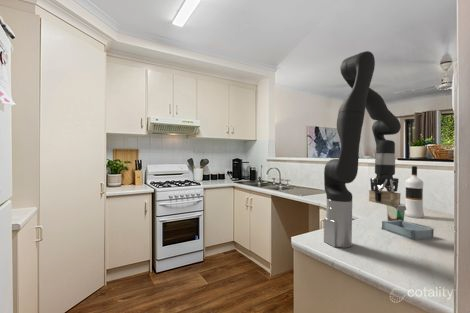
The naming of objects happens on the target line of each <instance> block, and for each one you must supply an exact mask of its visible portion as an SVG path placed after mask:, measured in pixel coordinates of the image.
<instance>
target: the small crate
mask: <svg viewBox="0 0 470 313" xmlns="http://www.w3.org/2000/svg"><path fill="white" fill-rule="evenodd" d="M368 202H372V203H376V204H380V205H384V206H387V205H388V206H395V205H400V204H401V192H389V191H387V190H383V189H382V191H381V202H378V201H376V200H375V192H373V191H371V189H369V190H368Z"/></svg>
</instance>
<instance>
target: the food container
mask: <svg viewBox="0 0 470 313" xmlns="http://www.w3.org/2000/svg"><path fill="white" fill-rule="evenodd" d="M405 210H406V207H405V204H403V203H400V205H395V206H388V205H386V212H387V213H386V215H387V221H398V220H403V221H404V222H405Z"/></svg>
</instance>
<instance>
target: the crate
mask: <svg viewBox="0 0 470 313" xmlns="http://www.w3.org/2000/svg"><path fill="white" fill-rule="evenodd" d="M381 229H382V230H383V231H387V232H390V233H391V234H392V233H393V234H396V235H398V236H401V237H404V238H407V239H411V240H413V241H414V240H415V241H416V240H417V241H418V240H424V239H433V238H434V232H435V230H434V228H432V227H427V226H426V227H425V226H421V225H419V224H415V223H411V222H408V221H405V220H404V221H403V220H398V221H388V220H382V221H381Z"/></svg>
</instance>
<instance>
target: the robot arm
mask: <svg viewBox="0 0 470 313" xmlns="http://www.w3.org/2000/svg"><path fill="white" fill-rule="evenodd" d="M375 66H376V61H375V55H374V54H373V52H371V51H369V50H367V51H363V52H359V53H357V54H354V55H351V56H350V57H349V56H348V57H347V58H345V59H343V60H342V61H341V63H340V68H339V69H340V73H341V76H342V78H343V79H344V81H345V82H346V83H347V85H348V87H350V88H351V90H350V92H349V94H348V95H347V96H346V97H345V99H344V100H343V102H342V103H341V104H340V106H339V109H338V112H337V113H338V114H337V117H336V118H337V120H336V130H337V135H338V137H339V139H340V140H339V141H340V151H339V156H338V158H332V159H330V160H328V161H327V162H326V163H325V166H324V171H323V175H324V176H323V180H324V181H323V182H324V191H325V195H326V205H325V206H326V207H325V208H326V212H325V214H326V215H325V216H326V217H323V242H325V243H326V244H328V245H330V246H332V247H333V248H344V249H345V248H346V249H347V248H351V247H352V243H353V234H352V232H353V193H352V192H351V191H349V189H348V187H347V186H346V184H350V183H353V182H354V181H355V179H356V178H357V175H358V171H359V154H360V143H361V137H362V136H361V135H362V130H363V124H364V120H365V112H367V113H368V115H369V117H370V119H371V120H373V121H374V122H373V124H372V126H371V131H372V135H373V139H374V141H375V157H374V158H375V160H374V174H376V175H375V177H370V178H369V180H370V190H371V191H373V192H375V200H376V201H378V202H381V191H382V190H383V189H386V191H389V192H395V193H398V187H399V178H397V177H393V176H394V175H395V174H396V143H395V141H394V140H391V139H386V138H385V136H391V135H396V134H398V133H399V132H400V131H401V128H402V127H401V126H402V124H401V122H400V120H399V119H398V117H397V116H396V115H395V114H394V113H392V112H391V110H389V108H388V106H387V104H386V103H385V100H384V98H383V97H382V96H381V94H380V93H378V92H377V91H375V90H374V89H373V88H371V82H372V80H373V75H374V72H375Z"/></svg>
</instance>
